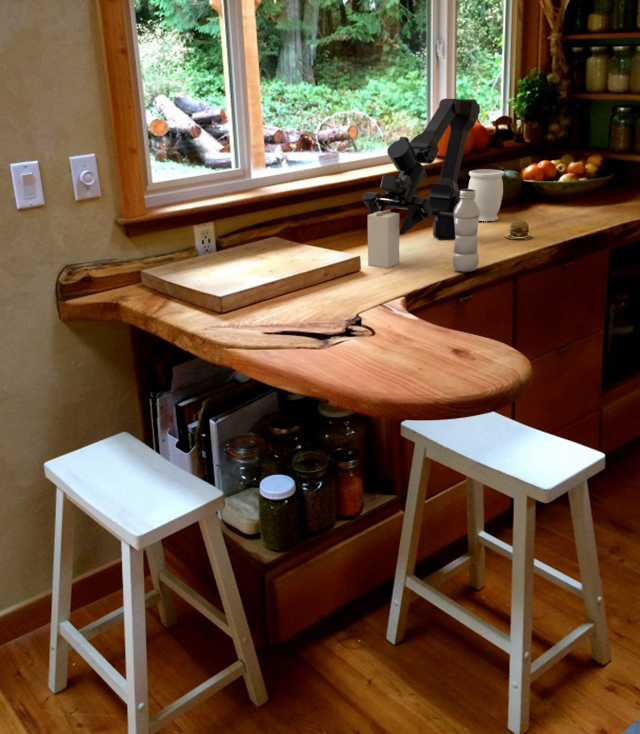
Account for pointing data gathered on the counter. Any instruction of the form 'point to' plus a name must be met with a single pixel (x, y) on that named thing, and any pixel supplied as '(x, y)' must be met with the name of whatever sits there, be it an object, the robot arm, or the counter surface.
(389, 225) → the tall white block
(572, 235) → the counter surface
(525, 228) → the hamburger
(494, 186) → the jar
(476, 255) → the plastic bottle
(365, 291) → the counter surface
